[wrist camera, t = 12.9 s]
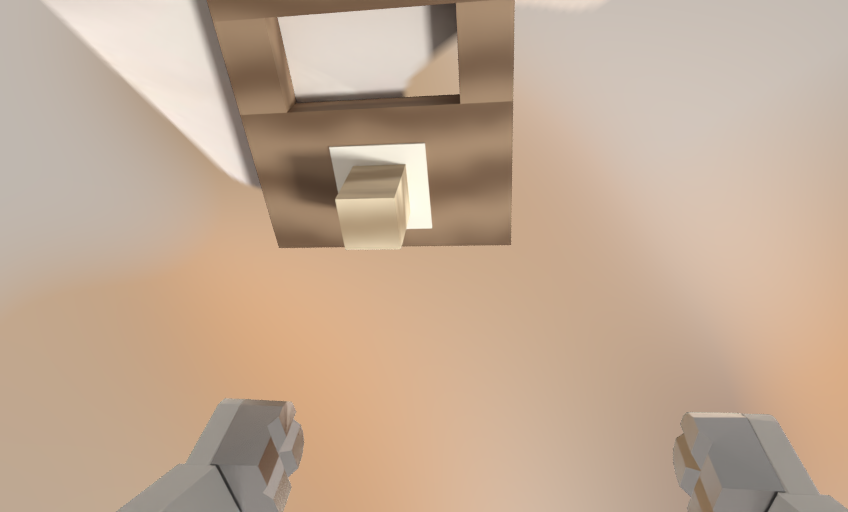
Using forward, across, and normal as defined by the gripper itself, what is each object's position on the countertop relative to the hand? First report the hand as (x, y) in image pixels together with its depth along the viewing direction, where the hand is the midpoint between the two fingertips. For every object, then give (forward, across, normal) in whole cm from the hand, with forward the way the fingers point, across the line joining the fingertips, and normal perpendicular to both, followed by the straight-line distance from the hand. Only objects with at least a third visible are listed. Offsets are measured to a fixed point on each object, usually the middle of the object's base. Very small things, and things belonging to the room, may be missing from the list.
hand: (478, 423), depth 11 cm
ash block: (+31, +9, +10) cm, 34 cm away
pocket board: (+34, +9, +5) cm, 36 cm away
